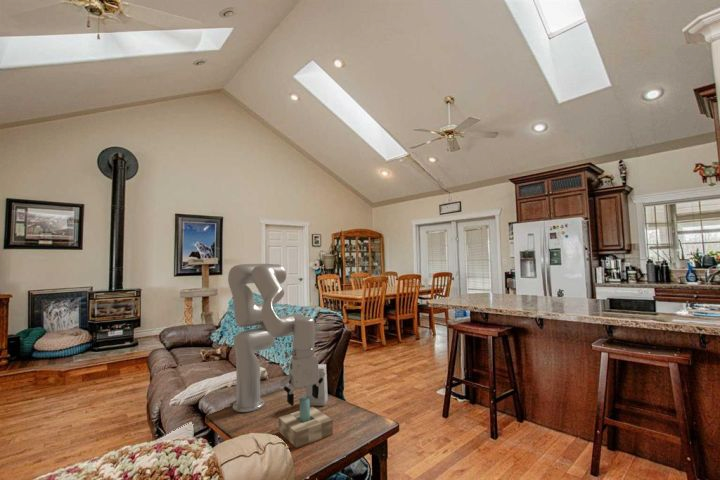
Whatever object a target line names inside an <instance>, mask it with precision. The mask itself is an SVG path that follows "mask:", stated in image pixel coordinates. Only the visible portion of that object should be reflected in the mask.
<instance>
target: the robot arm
mask: <svg viewBox="0 0 720 480" xmlns="http://www.w3.org/2000/svg"><path fill="white" fill-rule="evenodd" d="M227 280H228V281H227V282H228V286H229V289H230V291H231V292H230V293H231V295H232V302H233V303H232V304H233V310H234V311H233V312H234V320H235V324H236V326H237V327H238V328H249V327H256V326H258V328H253V329H247V330H242V331H240V332H238V333H237V334H236V335H235V337H234V338H233V348H234V353H235V363H236V364H235V365H236V401H235V402H234V403H233V404H232V410H233V411H235V412H237V413H238V412H239V413H249V412H253V411H257V410H259V409H261V408H262V407H264V404H265V400H264V399H262V398H261V363H260V360H259V358H258V357H257V355H256V354H255V353H257V352H259V351H263V350H268V349H270V348H272V347H273V346H274V343H275V338H276V339H280V338H283V337H289V336H292V337H293V340H292V342H293V343H292V345H293V348H292V350H291V351H289V355H290V356H291V359H290V362H289V369H288V371H289V372H288V375H287V376H286V377H285V378H284V379H282V380H281V381H280V386H281V387H282V389H283V390H284V391H285V392H286V398H287V399H286V402H287V404H289V405H290V406H291V407H292V406H294V404H295V403H294V402H295V400H294V399H295V396H294V395H295V394H294V391H295V390H296V389H302V388H306V386H309V385H313V384H314V385H313V386H312V396H313V397H314V398H316V399H317V398H318V394H319V387H320V384H321V382H322V381H323V378H324V375H325V373H324V372H323V371H320V370H318V364H319V361H318V357H317V355H316V354H315V338H316V337H315V335H316V334H315V333H316V332H315V327H316V324H315V323H316V322H315V319H314V318H313V317H309V316H305V315H302V314H300V313H290V314H283V315H279V316H278V315H277V313H276V312H275V311H274V307H273V306H274V305H276V304H277V303H278V302H280V301H281V300H282V299H283V297H284V296H285V290H284V287H282V285H281V284H283V283H284V282H285V281H286V280H287V271H286V269H285V268H284V266H282V265H281V264H278V263H275V264H274V263H273V264H272V263H241V264H236V265H234V266H232V267H231V268H230V270H229V271H228V276H227ZM247 284H254V285H255V287H256V289H257V290H258V292H259V294H260V295H261V297H262V299H263V302H257V303H255V299H254V293H253V291H252V289H251V288H250V287H249V286H248V285H247ZM319 374H320V376H319ZM287 383H288V384H289V385H288V386H287Z"/></svg>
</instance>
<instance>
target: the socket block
mask: <svg viewBox="0 0 720 480" xmlns="http://www.w3.org/2000/svg"><path fill="white" fill-rule="evenodd" d="M333 425H334V422H333V418H331V417H329V416H328V415H326V414H325V413H323V412H322V411H320V410H319V409H318V408H316V407H315V406H310V421H307V422H304V423H301V422H300V410H297V411H295V412H292V413H287V414H285V415H282V416H278V433H280V434H281V435H282V436H283V437H284V438H285V439H286V440H287V441H288V442H289V443H290V444H291V445H292V446H294V447H295V448H296V449H297V448H300V447H304V446H306V445H309V444H311V443H314V442H316V441H319V440H321V439H324V438H326V437H329V436H332V435H333V434H334V428H333V427H334V426H333Z"/></svg>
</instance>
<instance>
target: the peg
mask: <svg viewBox="0 0 720 480" xmlns="http://www.w3.org/2000/svg"><path fill="white" fill-rule="evenodd" d="M310 407H311V406H310V397H308V396H306V395H305V396H300V397H299V411H300V422H301V423H304V422H307V421H310Z"/></svg>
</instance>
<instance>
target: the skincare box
mask: <svg viewBox="0 0 720 480" xmlns="http://www.w3.org/2000/svg"><path fill="white" fill-rule="evenodd" d="M318 370H320V371H323V372H324V373H325V375H324V378H323V381H322V382H321V384H320V387H319V394H318V398H317V399H316V398H314V397H313V396H312V386H313V385H314V384H313V385H309V386H305V396H308V397H310V407H315V406H321V407H322V406H324V407H325V406H326V404H327V401H328V400H329V399H328V397H329V396H328V378H327V377H328V374H327V364H326V363H325V364H324V363H320V364H319V363H318ZM319 376H320V374H319Z"/></svg>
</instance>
